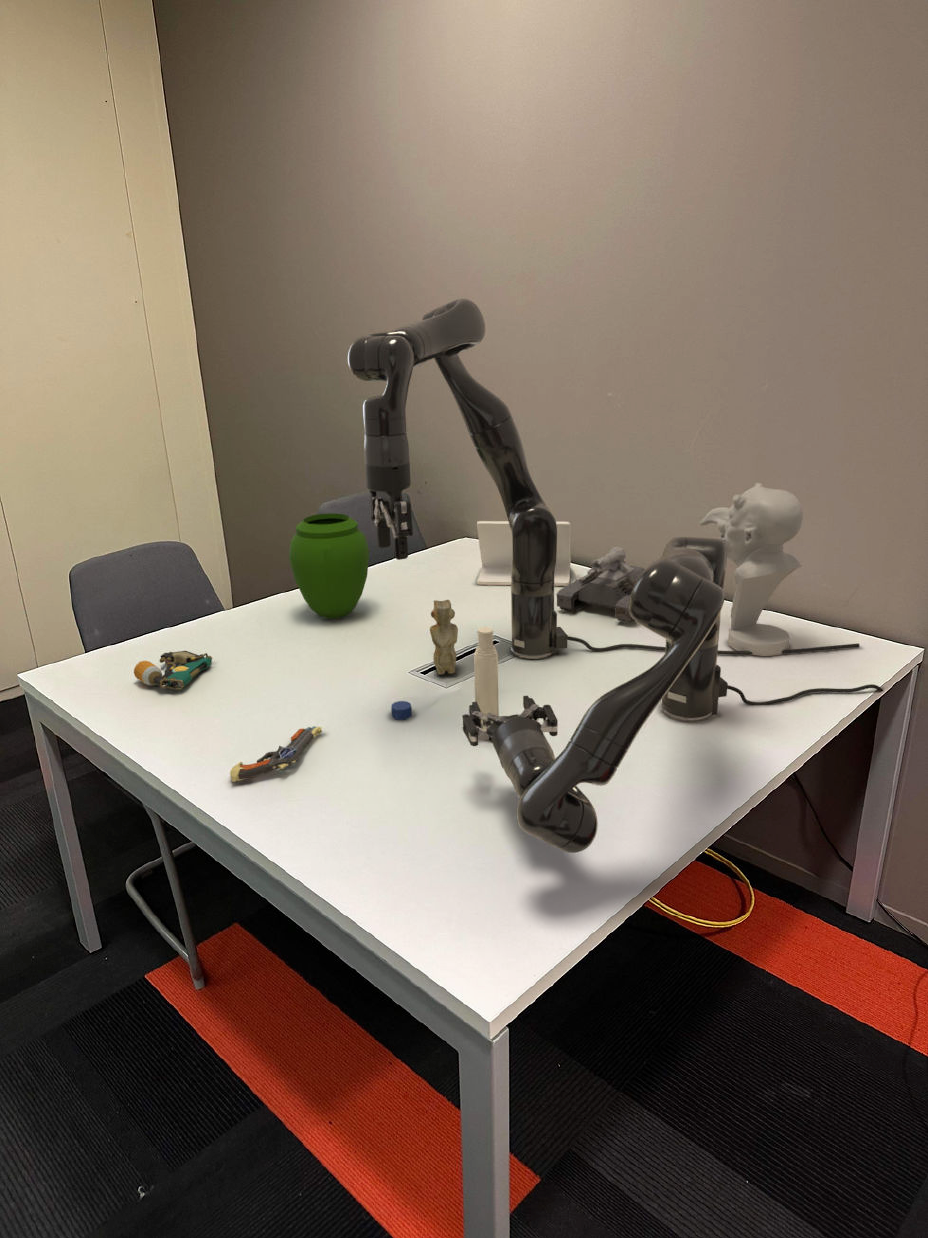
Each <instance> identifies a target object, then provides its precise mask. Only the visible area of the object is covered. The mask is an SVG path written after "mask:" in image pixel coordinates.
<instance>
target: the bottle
mask: <svg viewBox="0 0 928 1238" xmlns="http://www.w3.org/2000/svg"><path fill="white" fill-rule="evenodd" d="M477 642H478V643H477V646H476V648H475V651H474V653H473V670H474V672H473V673H474V674H473V675H474V702H476V701H477V704H478V706H479V708H480V710H481V712H482V713H484V714H487V713H492V714H494V715H497V716H499V717H500V715H499V713H500V709H499V704H500V703H499V654H498V651H497V649H496V646H495V645H494V629H493V628H492V627H487V626H484V627H480V628H478V629H477ZM481 723H482V724H483V721H482V720H481ZM492 723H493V722H492V721H491V724H492Z"/></svg>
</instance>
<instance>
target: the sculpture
mask: <svg viewBox="0 0 928 1238" xmlns="http://www.w3.org/2000/svg"><path fill="white" fill-rule="evenodd" d="M455 615H456V611H455V609H453V608H452V602H451V601H450V599H445V600H433V610H431V612H430V617H431V618H432V619H433V620H434V621H435V622H436V623H435V624H433V625H431V626H429V633H430V636H431V640H432V641H431V642H432V643H433V645H434V648H435V649H434V652H433V656H432V657H433V659H432V660H433V665H434V667H435V668H436V671H437V674H438V675H445V674H446V672H447V673H448V674H455V673H456V666H457V665H456V663H457V652H456V649H455V644H456V643H457V642H458V637H459V635H458V634H459V627H458V626H457V624H455V623H453V622H451V621H452V620H453V619H454V618H455Z"/></svg>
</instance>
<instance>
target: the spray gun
mask: <svg viewBox="0 0 928 1238" xmlns="http://www.w3.org/2000/svg"><path fill="white" fill-rule="evenodd" d="M212 660H213V657H212V656H211V655H208V653H207V652H205V653H201V654H197V653H194V652H192V651H191V652H190V651H188V650H180V651H169V652H164V653H162V654H161V655H160V658H159V660H158V662H159V663H161V664H163V663H165V664H166V668H165V670H163V672H164V674H163V673H162V669H160V668H159V666H157V665H156V664H154V663H152V662H151V661H149V660H141V661H139V662H138V663H136V665H135V666H134V668H133V675H134V677H135V678H136V679H137V680H139V681H140V682H142V683H143V684H145V685H147V686H155V685H157V686H158V687H160V688H161V689H171V690H172V689H173V690H182V689H184V687H185V686H186V685H188V684H189V683H190V682H191V681H192V679H193V678H195V677H196V676H197V675H198V674H200V673H201V672H202V671H203V670H206V669H208V668H209V667H210V666H211V665H212V662H213V661H212ZM178 663H179V664H181V665H179V666H176V665H177V664H178Z"/></svg>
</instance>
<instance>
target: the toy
mask: <svg viewBox="0 0 928 1238" xmlns="http://www.w3.org/2000/svg"><path fill="white" fill-rule="evenodd" d="M626 557H627V556H626V551H625V549H624V548H622V547H621V546H614V547H612V548H611V549H610V550H609V552H608V553H607V554H605V555H604V556H601V557H599V558H598V559H597V557H596V558H594V559H593V560H592V561H590V562H589V563H590V564H591V565H592V567H591V568H590V569H589V570H587V573H586V575H584V576H582V577H580V578H578V579H577V580H575V581H573V582H570V583H569V585H567V586H563V587H562V588H560V589H559V590H558V591H557V592H556V607H558V608H559V609H560V610H562V611H566V612H572V613H575V612H577V611H579V610H581V609H582V608H585V607H586V606H588V605H592V606H598V607H602V608H603V607H604V608H609V609H613V610H614V618H615V619H617V620H618V621H621V622H626V623H631V624H634V623H635V622H636V621H635V620H634V619H633V618H632V617H631V615H630V613H629V607H628V605H629V598H630V595H631V592H632V589H633V587H634V585H635V583H636V582H637V580H638V578H639V577H640V576H641V574H642V573H643V572H644V571H645V570H646V568H644V567H641V566H635V565H629V564H628V563H627V562H626V561H625V559H626Z"/></svg>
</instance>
